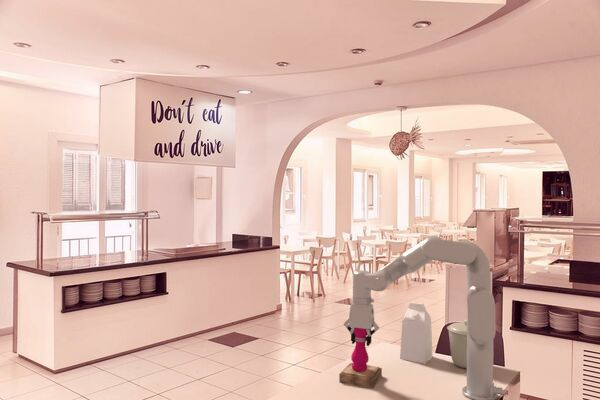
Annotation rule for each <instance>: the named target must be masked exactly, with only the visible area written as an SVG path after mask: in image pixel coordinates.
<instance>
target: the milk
mask: <svg viewBox="0 0 600 400" xmlns="http://www.w3.org/2000/svg"><path fill="white" fill-rule="evenodd" d="M426 309H427V308H426V307H425V304H424V303H421V302H413V301H411V302H410V303H409V305H408V308H407V309H406V312H405V313H404V316H403V318H402V322H401V324H402V325H401V336H400V337H401V339H400V351H399V352H400V353H399V359H401V360H405V361H410V362H414V363H418V364H419V363H420V364H423V365H424V364H425V365H426V364H427V362H429V361H430V360H431V359H432V358H433V336H432V335H433V334H432V333H433V332H432V317H431V316H430V314H429V312H428V311H427V310H426Z"/></svg>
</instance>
